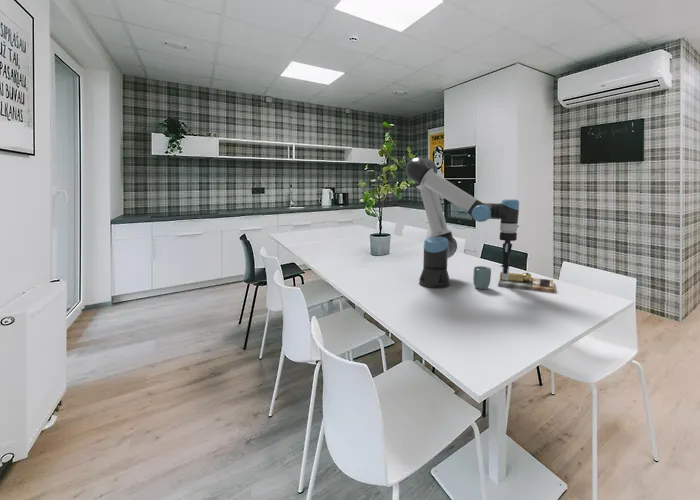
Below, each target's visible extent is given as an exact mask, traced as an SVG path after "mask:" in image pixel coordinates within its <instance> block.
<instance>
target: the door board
mask: <svg viewBox="0 0 700 500" xmlns="http://www.w3.org/2000/svg"><path fill="white" fill-rule="evenodd" d="M497 286H498V287H500V288H501V287H502V288H503V287H504V288H511V289H518V290H525V291H535V292H543V293H544V292H545V293H553V294H555V292H556V289H555V283H554V279H548V278H538V277H532V276H531V282H523V281H514V280H502V279H500V278H499V280H498V283H497Z"/></svg>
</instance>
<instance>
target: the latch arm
mask: <svg viewBox="0 0 700 500" xmlns="http://www.w3.org/2000/svg"><path fill="white" fill-rule="evenodd" d="M531 277H532V274H531V273H529V272H523V273H514V272H509V273H508V280H514V281H523V282H531ZM500 279H502V271H500V274H499V280H500Z"/></svg>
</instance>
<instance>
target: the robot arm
mask: <svg viewBox="0 0 700 500" xmlns="http://www.w3.org/2000/svg"><path fill="white" fill-rule="evenodd" d="M405 173H406V176H407V178H408V179H409V180H411V181H412V182H414V184H415V187H416V189H418V190H419V192H420V195H421V199H422V203H423V206H424V210H425V214H426V215H425V216H426V217H427V223H428V225H429V229H430V235H429V236H428V237H427V238H425V240H424V242H423V268H422V271H421V274H420V277H419V279H418V280H419V285H420V284H421V286H423V287H426V288H430V289H431V288H432V289H443V288H445V289H446V288H448V287H450V285H451V279H450V276H449V273H448V272H449V271H448V260H449V258H451V257H453V256H454V255H455V253H456V252H457V250H458V243H457V240H456V238H454V236H453V232H452V231H451V230H450V229H448V225H447V222H446V217H445V214H444V211H443V207H442V203H441V199H440V196H441V197H442V198H444V200H447V201H448V202H449V203H451V204H452V205H454V206H455V207H457V208H459V209H460V210H462V211H464V212H465V213H467V214H468V215H470V216H471V217H472V219H473V220H474V221H476V222H479V223H483V222H486V221H488V220H491V219H492V220H500V224H499V225H500V226H499V231H500V232H499V240H500V241H504V242H503V243H502V253H503V254H502V256H503V257H502V258H503V259H502V265H500V267H502V271H501V272H502V280H508V273H510V272H509V271H510V269H509V268H510V267H511V264H510V263H511V262H510V261H511V260H510V259H511V257H510V256H511V253H512V248H513V243H511V242H515V241H516V240H517V238H518V237H517V236H518V233H517V232H518V228H519V227H520V225H518V223H519V213H520V201H519V200H518V199H514V198H513V199H512V198H511V199H509V198H507V199H501V200H502V201H501V202H500V203H490V202H481V201H480V200H479V199H477V198H475V197H474V196H473V195H472V194H471V195H470V194H469V193H467V192H466V191H464V190H462V189H461V188H459V187H458V186H456V185H455V184H453V183H452V182H450V181H449V180H447V179H446V178H443V176H440V174H438V167H437V164H436V163H435V162H434V160H433V161H432V160H431V159H429V158H422V157H414V158H412V159H411V160H409V161H408V163H407V164H406V166H405Z"/></svg>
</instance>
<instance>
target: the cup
mask: <svg viewBox="0 0 700 500" xmlns="http://www.w3.org/2000/svg"><path fill="white" fill-rule="evenodd" d="M491 277H492V268H491V267H489V266H483V265H480V266H474V267H473V285H474V287H475V288H476V289H477V290H478V289H479V290H486V289H488V288H489V287H490V284H491V279H492V278H491Z"/></svg>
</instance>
